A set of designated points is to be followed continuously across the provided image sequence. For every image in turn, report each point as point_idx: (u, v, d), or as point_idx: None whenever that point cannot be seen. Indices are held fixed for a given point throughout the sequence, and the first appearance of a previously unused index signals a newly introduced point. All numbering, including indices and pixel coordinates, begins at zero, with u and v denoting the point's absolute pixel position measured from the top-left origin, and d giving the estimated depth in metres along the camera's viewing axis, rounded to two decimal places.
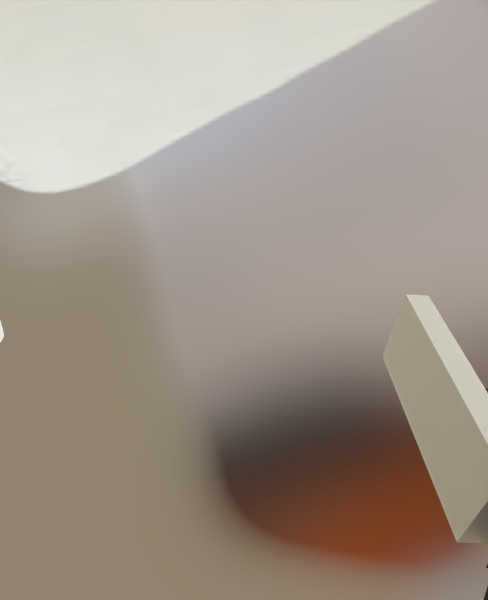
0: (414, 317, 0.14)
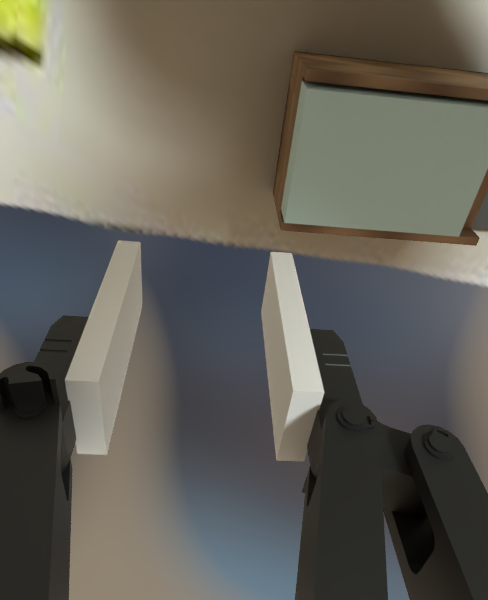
0: (272, 270, 0.15)
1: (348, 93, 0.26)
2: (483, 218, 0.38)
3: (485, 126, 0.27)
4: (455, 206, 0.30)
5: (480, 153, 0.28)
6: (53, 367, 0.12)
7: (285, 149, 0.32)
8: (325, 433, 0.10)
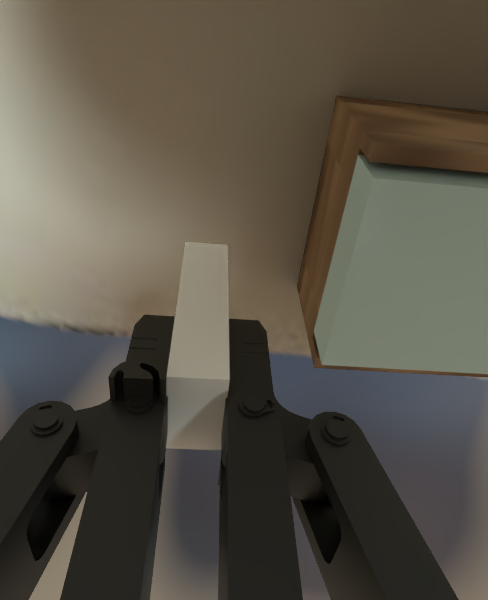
0: (205, 261, 0.16)
1: (443, 184, 0.15)
2: None
3: None
4: None
5: None
6: None
7: (321, 243, 0.21)
8: (228, 425, 0.10)
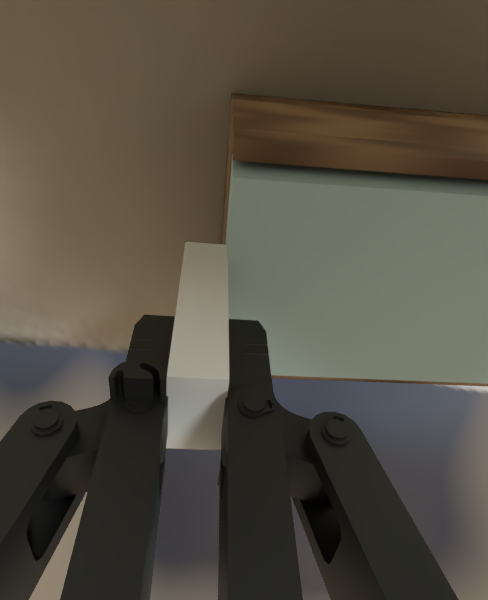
0: (205, 261, 0.16)
1: (309, 183, 0.14)
2: None
3: None
4: None
5: None
6: None
7: None
8: (228, 425, 0.10)
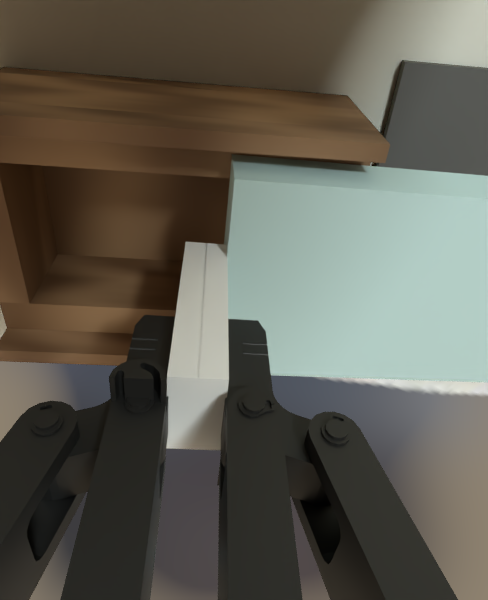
0: (204, 261, 0.16)
1: (310, 185, 0.14)
2: None
3: None
4: None
5: None
6: None
7: None
8: (227, 425, 0.10)
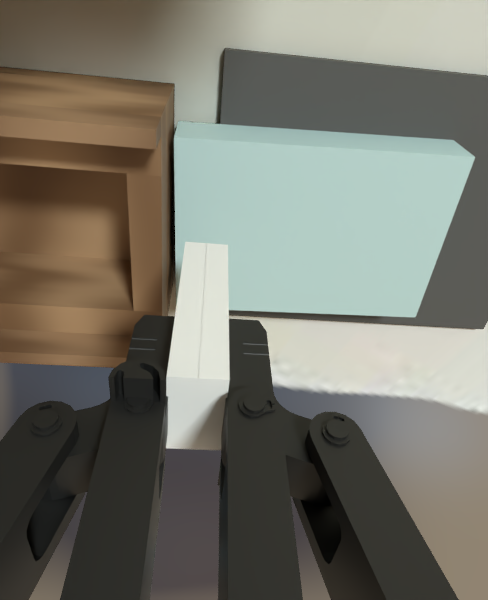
0: (205, 261, 0.16)
1: (235, 141, 0.18)
2: None
3: (438, 179, 0.19)
4: (407, 281, 0.22)
5: (434, 214, 0.20)
6: None
7: None
8: (228, 425, 0.10)
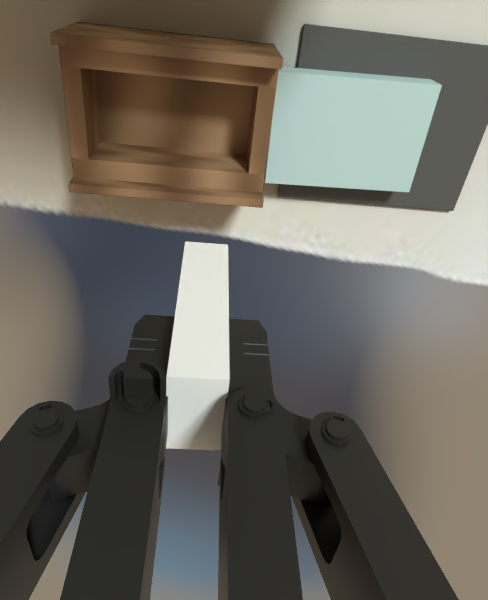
0: (205, 261, 0.16)
1: (310, 74, 0.33)
2: (298, 187, 0.40)
3: (421, 99, 0.34)
4: (404, 166, 0.37)
5: (420, 121, 0.35)
6: None
7: None
8: (228, 425, 0.10)
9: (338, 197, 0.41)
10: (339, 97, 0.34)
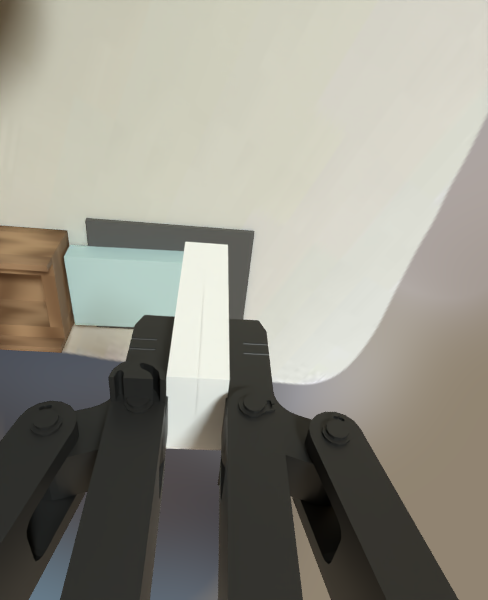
0: (205, 261, 0.16)
1: (89, 257, 0.44)
2: None
3: (180, 271, 0.45)
4: None
5: None
6: None
7: None
8: (228, 425, 0.10)
9: None
10: (116, 271, 0.45)
